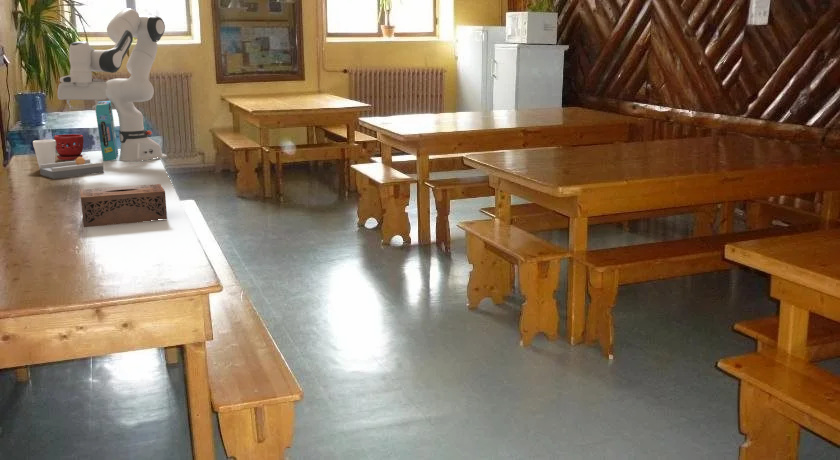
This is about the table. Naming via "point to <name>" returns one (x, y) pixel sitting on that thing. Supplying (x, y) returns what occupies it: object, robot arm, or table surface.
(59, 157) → the plant pot
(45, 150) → the foam cup
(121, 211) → the tissue box cover
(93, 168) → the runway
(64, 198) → the table surface
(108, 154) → the game box
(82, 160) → the ball
